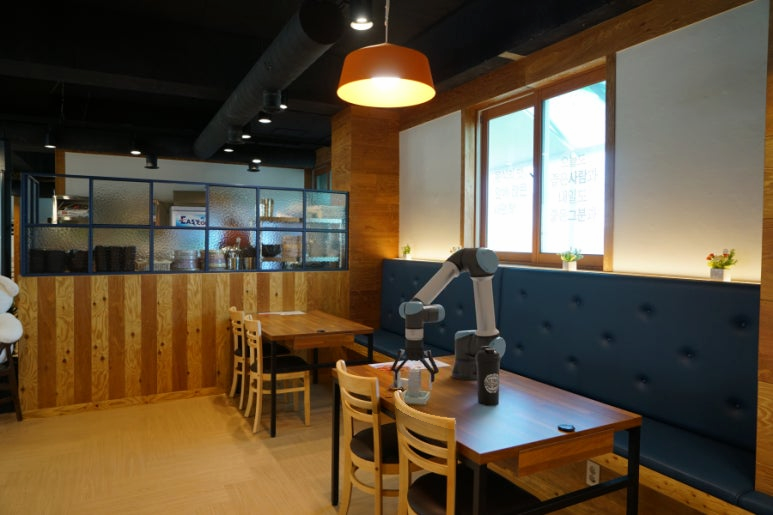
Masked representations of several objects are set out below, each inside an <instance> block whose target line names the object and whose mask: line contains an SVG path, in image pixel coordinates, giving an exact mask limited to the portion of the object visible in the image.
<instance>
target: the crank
mask: <svg viewBox="0 0 773 515" xmlns="http://www.w3.org/2000/svg"><path fill="white" fill-rule="evenodd" d="M392 383H393V384H392V385H394V386H397V380H395V374H393V382H392ZM401 387H403V388H406V389H408V378H404V377H401Z"/></svg>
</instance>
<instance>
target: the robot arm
mask: <svg viewBox="0 0 773 515" xmlns="http://www.w3.org/2000/svg"><path fill="white" fill-rule="evenodd" d="M499 265H500V264H499V257H498V255H497V253H496V251H494V250H493V249H492V248H489V247H464V248H461V249H459V250H457V251H454V253H452V254H451V255H450V256H448V257H447V259H446V260H445V261H444V262H443V263H442V267H441V268H440V269H439V270H438V271H437V272H436V273H435V274H434V275H433V276H432V277H431V278H430V279H429V280H428V282H427V283H425V285H424V286H423V287H422V288H421V289H420V290H419V291H418V292H417V293H416V294H415V295H414V296H413V297H412V298H411V299H410V300H409V301H405V302H402V303H401V304H400V306H399V307H398V312H399V315H400V317H401V318H403V319H405V320H404V322H405V338H406V339H405V349H402V348H400V349H398V350H397V356H396V357H395V359H394V362H393V364H392V366H391V368H390V371H391V372H394V375H395V380H397V388H398V389H399V388H400V387H401V378H402V377H401V376H402V375H401V373H402V372H401V371H400V370H401V369H402V368H403V367H404V365H405V364H406V363H407V362H408V361H411V362H413V361H414V362H418V361H419V362H420V363H422V365H423V366H424V368H426V370H427V371H428V373H429V375H428V391H429V392H431V391H432V390H433V383H434V382H435V375H436V374H438V373H440V372H439V367H438V366H437V364H436V361H435V359H434V358H433V355H432V351H431V350H430V349H428V350H425V349H424V339H423V338H424V324H427V323H428V324H430V323H438V322H442V321H443V320H444V319H445V316H446V312H445V308H444V306H443V305H441V304H436V303H434V304H431V303H433V301H434V300H435V299H436V298H437V297H438V296H439V295H440V293H441V292H442V291H443V290H444V289H445V288H446V287H447V285H449V284H450V282H451V281H452V280H453V279H454V278H458V277H459V276H460V275H461V274H463V273H468V274H469V275H468V276H469V278H470V279H471V280H472V284H473V285H472V286H473V293H474V294H473V296H474V304H475V307H474V308H475V315H476V318H475V319H476V328H477V329H467V330H458V331H457V332H456V333H455V334H454V340H453V341H454V363H453V367H452V369H451V378H453V379H454V380H455V379H456V380H461V381H477V361H476V354H477V352H478V351H480V347H482V346H489V347H490V348H495V349H496V350H495V351H497V352H498V353H499V355H500V356H501V358H503V356H504V355H505V352H506V347H507V346H506V341H505V339H504V338H503V337H501V336H500V331H499V330H498V329H497V328H496V317H495V306H494V295H493V294H494V292H493V282H492V279H493V277H495V273H496V271H497V270H498V267H499ZM402 355H405V356H406V357H405V358H404V359H403V361H402V362H401V363H400V364H399V365H398V363H399V361H400V359H401V357H402ZM424 355H425V356H427V358H428V361H429V363H430V364H429V363H428V361H427V360H426V359H425V358H424ZM397 365H398V366H397Z"/></svg>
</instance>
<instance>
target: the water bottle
mask: <svg viewBox="0 0 773 515" xmlns="http://www.w3.org/2000/svg"><path fill="white" fill-rule="evenodd" d="M495 350H496V349H495V348H490V347H489V346H482V347H480V351H478V352H477V354H476V361H477V380H476V385H477V404H479V405H481V406H485V407H486V406H487V407H494V406H498V405H499V402H500V370H501V369H500V367H501V366H500V363H501V359H502V357H501V356H500V355H499V353H498V352H497V351H495Z"/></svg>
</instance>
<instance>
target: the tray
mask: <svg viewBox="0 0 773 515" xmlns="http://www.w3.org/2000/svg"><path fill="white" fill-rule="evenodd" d="M402 393H403V396H404V400H405V402H406V403H407V404H408V405H420V406H426V405H427V403H428V401H429V400H430V398H431V391H425V390H424V391H423V390H421V398H412V397H408V389H406V390H404V391H403V392H402ZM407 404H406V405H407Z"/></svg>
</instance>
